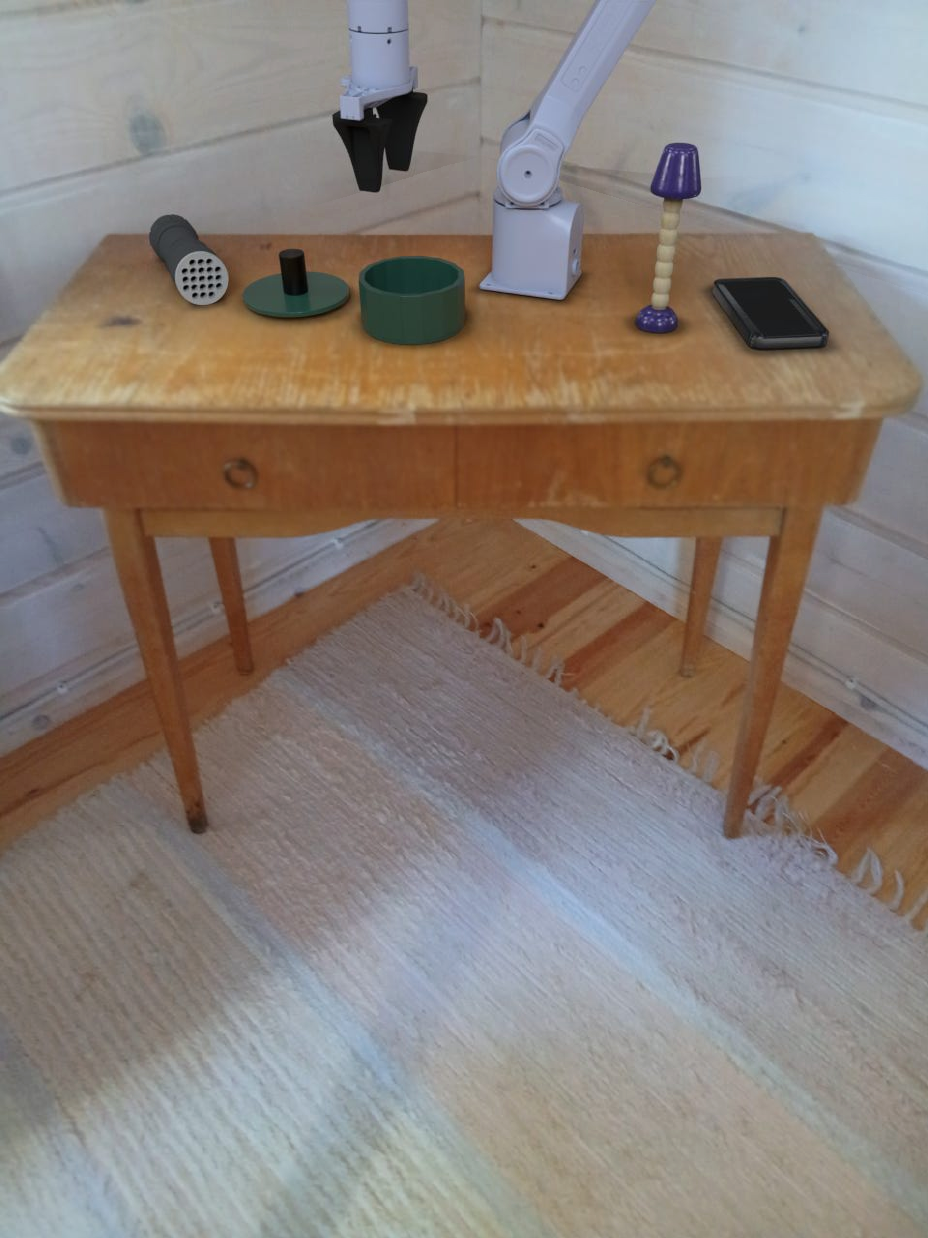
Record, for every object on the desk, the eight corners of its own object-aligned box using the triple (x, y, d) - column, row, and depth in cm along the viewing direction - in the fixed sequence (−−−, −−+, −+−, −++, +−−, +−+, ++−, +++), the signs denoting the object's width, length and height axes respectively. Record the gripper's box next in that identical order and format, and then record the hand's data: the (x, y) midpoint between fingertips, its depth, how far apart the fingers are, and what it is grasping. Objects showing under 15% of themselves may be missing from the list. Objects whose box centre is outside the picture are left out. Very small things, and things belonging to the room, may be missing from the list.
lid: (367, 288, 104) (363, 240, 101) (321, 329, 96) (315, 279, 93) (275, 275, 107) (269, 228, 103) (224, 314, 99) (215, 265, 96)
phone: (753, 339, 91) (711, 278, 102) (751, 350, 92) (709, 288, 103) (834, 335, 91) (783, 275, 103) (831, 346, 92) (781, 286, 103)
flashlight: (151, 261, 110) (140, 212, 107) (197, 253, 112) (188, 205, 109) (181, 309, 100) (171, 257, 96) (232, 300, 102) (223, 248, 98)
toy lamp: (629, 314, 98) (649, 139, 87) (673, 312, 99) (699, 137, 88) (640, 334, 95) (663, 154, 84) (686, 332, 95) (714, 152, 84)
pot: (478, 309, 99) (478, 262, 96) (443, 351, 92) (442, 301, 89) (387, 296, 102) (384, 250, 99) (345, 335, 95) (341, 287, 92)
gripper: (371, 12, 96) (377, 156, 105) (305, 38, 86) (318, 195, 95) (436, 17, 95) (437, 163, 104) (377, 44, 84) (383, 204, 93)
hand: (384, 179), depth 99 cm, fingers open, 7 cm apart
